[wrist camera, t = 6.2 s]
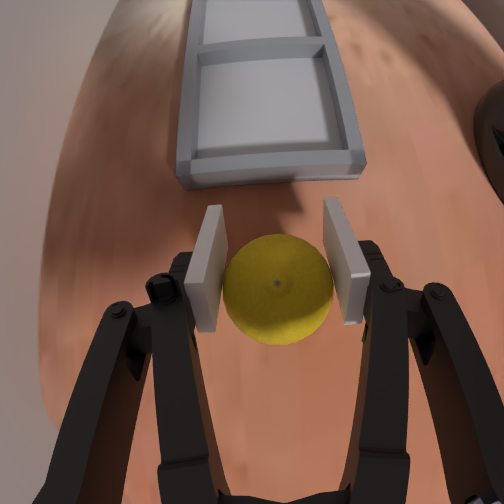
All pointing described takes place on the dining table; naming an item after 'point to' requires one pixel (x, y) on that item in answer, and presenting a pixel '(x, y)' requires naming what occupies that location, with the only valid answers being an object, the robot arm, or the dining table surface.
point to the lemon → (278, 289)
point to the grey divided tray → (264, 97)
